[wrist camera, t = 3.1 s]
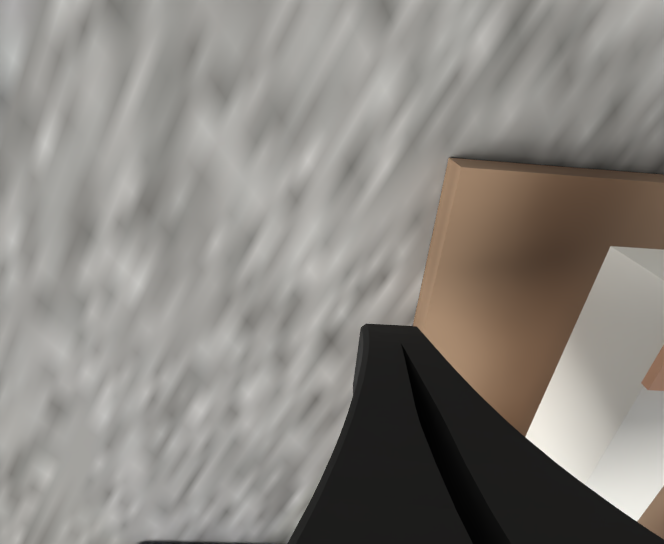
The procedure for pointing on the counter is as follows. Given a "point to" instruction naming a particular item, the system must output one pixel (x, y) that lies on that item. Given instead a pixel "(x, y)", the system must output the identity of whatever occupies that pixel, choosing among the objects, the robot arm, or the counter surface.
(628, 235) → the board
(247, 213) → the counter surface
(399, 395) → the robot arm
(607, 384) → the white long piece
